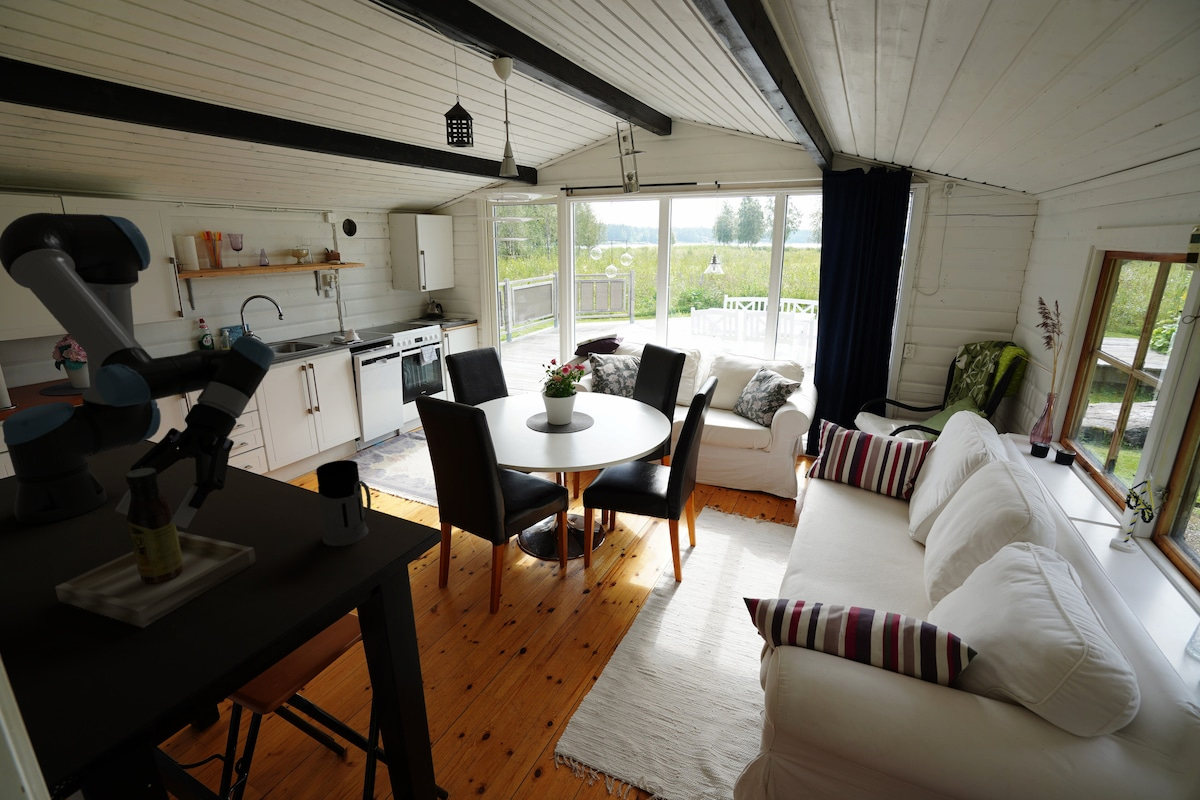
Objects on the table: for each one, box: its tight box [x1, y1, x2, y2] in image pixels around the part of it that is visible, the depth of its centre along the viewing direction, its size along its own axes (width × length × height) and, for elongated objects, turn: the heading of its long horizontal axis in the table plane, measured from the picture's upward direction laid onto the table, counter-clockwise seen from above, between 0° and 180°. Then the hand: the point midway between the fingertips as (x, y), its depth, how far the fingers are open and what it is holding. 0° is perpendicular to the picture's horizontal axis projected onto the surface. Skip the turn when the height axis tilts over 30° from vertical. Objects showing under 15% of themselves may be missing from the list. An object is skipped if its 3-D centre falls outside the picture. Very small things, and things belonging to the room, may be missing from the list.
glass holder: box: [315, 459, 372, 547], centre depth 112 cm, size 9×14×15 cm, turn 56°
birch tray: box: [54, 530, 257, 629], centre depth 100 cm, size 20×20×3 cm
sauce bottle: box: [125, 468, 183, 584], centre depth 97 cm, size 6×6×20 cm
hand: (149, 519), depth 97 cm, fingers open, 13 cm apart
